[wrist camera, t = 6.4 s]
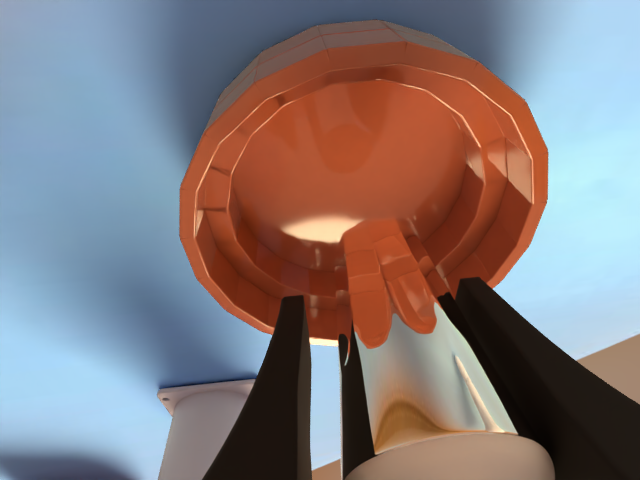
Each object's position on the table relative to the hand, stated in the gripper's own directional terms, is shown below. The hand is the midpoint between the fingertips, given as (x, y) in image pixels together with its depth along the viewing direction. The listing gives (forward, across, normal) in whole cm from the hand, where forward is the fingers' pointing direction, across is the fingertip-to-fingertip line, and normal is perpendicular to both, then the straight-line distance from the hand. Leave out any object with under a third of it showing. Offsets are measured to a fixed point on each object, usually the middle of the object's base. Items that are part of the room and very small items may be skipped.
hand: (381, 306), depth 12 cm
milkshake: (+3, 0, 0) cm, 3 cm away
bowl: (+8, 0, 0) cm, 8 cm away
